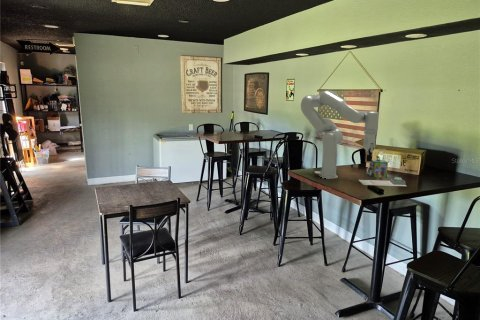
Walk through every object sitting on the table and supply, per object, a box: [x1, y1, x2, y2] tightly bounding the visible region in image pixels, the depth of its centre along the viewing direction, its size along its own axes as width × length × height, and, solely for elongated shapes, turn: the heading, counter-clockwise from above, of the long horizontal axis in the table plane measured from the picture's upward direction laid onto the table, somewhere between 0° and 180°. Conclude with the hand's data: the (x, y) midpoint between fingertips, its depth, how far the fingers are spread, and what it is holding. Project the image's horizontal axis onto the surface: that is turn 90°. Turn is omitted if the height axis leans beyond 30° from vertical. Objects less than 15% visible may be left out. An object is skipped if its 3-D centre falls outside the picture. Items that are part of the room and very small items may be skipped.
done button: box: [393, 176, 403, 182], centre depth 206 cm, size 4×4×2 cm
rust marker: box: [365, 149, 371, 164], centre depth 205 cm, size 3×3×9 cm
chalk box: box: [368, 155, 389, 179], centre depth 224 cm, size 9×9×15 cm
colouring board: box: [358, 178, 407, 187], centre depth 207 cm, size 26×12×3 cm, turn 84°
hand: (368, 160), depth 206 cm, fingers closed on rust marker, 3 cm apart
